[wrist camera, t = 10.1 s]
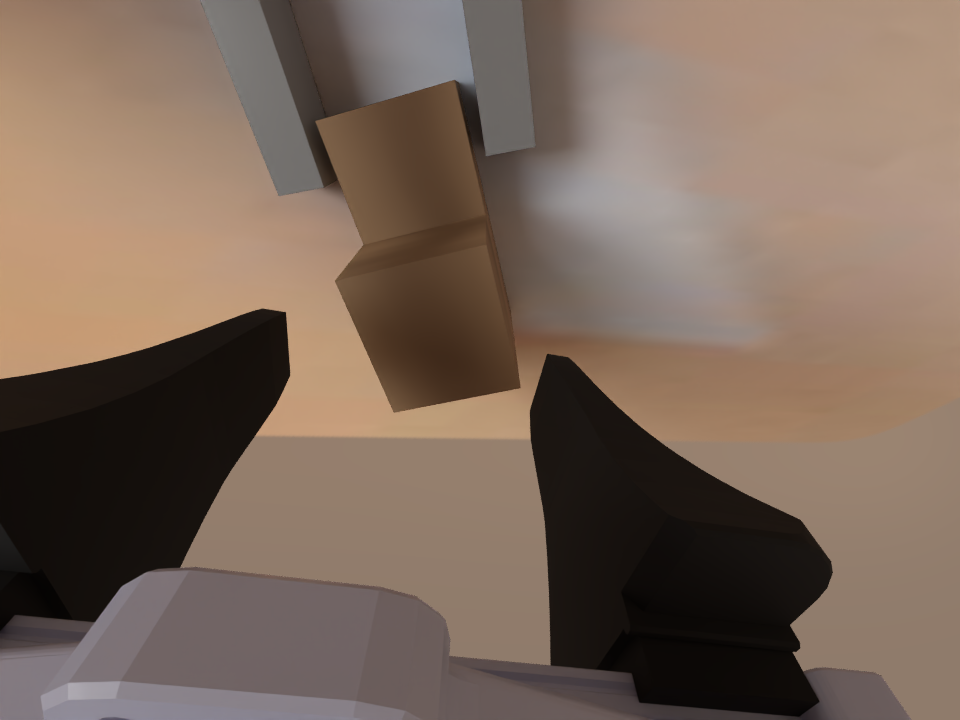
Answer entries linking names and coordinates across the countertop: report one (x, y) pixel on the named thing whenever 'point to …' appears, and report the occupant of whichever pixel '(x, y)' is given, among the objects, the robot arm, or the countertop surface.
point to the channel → (296, 103)
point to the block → (422, 250)
